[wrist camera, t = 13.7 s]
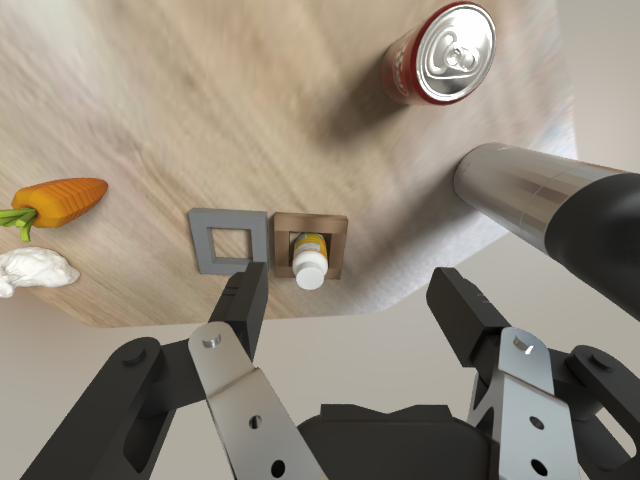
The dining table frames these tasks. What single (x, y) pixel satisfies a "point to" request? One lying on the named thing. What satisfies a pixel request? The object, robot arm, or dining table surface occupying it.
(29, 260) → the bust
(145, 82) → the dining table surface
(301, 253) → the supplement bottle
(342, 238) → the socket
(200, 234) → the socket
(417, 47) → the soda can
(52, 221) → the carrot
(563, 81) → the dining table surface
